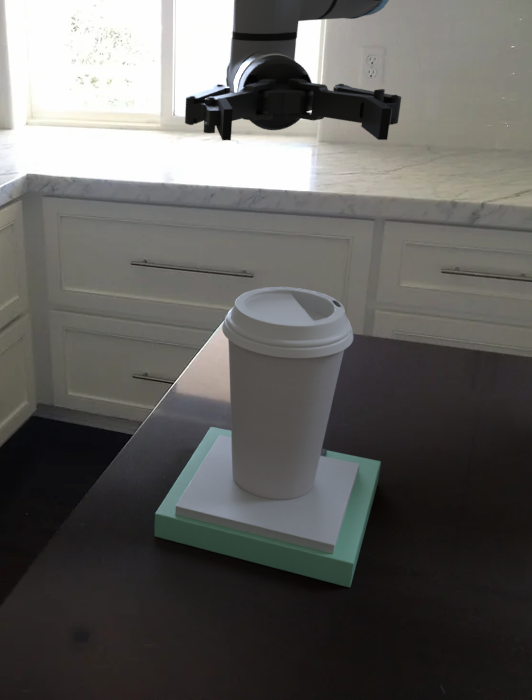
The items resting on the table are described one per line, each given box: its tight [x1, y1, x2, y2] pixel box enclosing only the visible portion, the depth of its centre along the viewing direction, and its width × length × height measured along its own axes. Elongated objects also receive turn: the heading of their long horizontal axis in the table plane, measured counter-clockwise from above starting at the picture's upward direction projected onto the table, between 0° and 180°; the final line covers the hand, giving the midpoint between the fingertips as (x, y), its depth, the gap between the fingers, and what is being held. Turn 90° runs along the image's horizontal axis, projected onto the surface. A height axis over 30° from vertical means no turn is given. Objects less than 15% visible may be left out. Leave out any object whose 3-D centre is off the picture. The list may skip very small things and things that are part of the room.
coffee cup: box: [221, 286, 354, 500], centre depth 67 cm, size 10×10×15 cm
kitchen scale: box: [153, 426, 382, 588], centre depth 71 cm, size 15×15×3 cm
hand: (305, 124), depth 76 cm, fingers open, 13 cm apart
